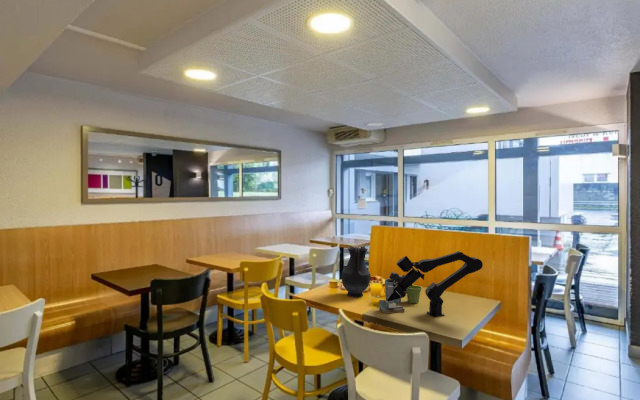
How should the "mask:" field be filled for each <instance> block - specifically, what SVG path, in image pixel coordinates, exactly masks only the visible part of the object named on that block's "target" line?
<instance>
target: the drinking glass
mask: <svg viewBox="0 0 640 400" xmlns="http://www.w3.org/2000/svg"><path fill="white" fill-rule="evenodd" d="M393 282H394V280H393V279H390V278H386V279H384V289H385V301H387V299H388V296H387V295H388V286H393ZM393 302H394V303H396V304H400V303H402V298H399V299H395V300H393Z"/></svg>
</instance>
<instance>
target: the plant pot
mask: <svg viewBox="0 0 640 400" xmlns="http://www.w3.org/2000/svg"><path fill="white" fill-rule="evenodd" d="M422 288H423V287H422V286H420V285H412V286H410V287H409V288H408V289H407V291H406V296H407V297H406V298H407V302H408V303H410V304H418V303H420V296H421V292H422Z"/></svg>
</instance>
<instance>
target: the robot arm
mask: <svg viewBox="0 0 640 400" xmlns="http://www.w3.org/2000/svg"><path fill="white" fill-rule="evenodd" d="M459 261H461V262H463V265H462V266H461V267H460V268H459V269H457V270H456V271H454V272H453V273H451V274H450V275H448V276H447V277H445V278H444V279H443V280H441V281H440V282H438V283H435V282H434V281H433V282H432V283H431V284H430V285H427V286H426V289H425V291H424V292H425V295H426V297H427V298H428V299H429V305H428V306H429V308H428V309H429V311H426V314H428V315H430V316H432V317H442V316H445V314H444V313H443V303H444V300H443V298H442V297H441V296H442V295H443V294H444V292H445V291H446V290H448V289H449V288H450V287H452V286H454V284H456V283H458V282H459V281H460V280H462V279H463V278H465V277H466V276H467V275H470V274H473V273H476V272H478V271H480V270H481V269H483V267H484V264H483V262H482V260H481V259H479V258H477V257H475V256H471V257H470V256H469V255H467V254H465V253H464V252H462V251H459V250H457V251H456V252H453V253H449V254H445V255H443V256H438V257H436V258H426V259H420V260H418V261H415V262H414V261H413V262H412V260H410V259H409V257H408V256H407V255H405V256H403V257H402V258H400V259H399V260H398V261H397V262H396V266H397V267H398V268H399V269H400V270H402V272H404V273H405V274H403V275H400V274H399V273H396V272H395V271H391V272H390V274H389V278H388V279H393V280H394V282H393V287H394V288H393V293H392V294H391V295H390V297H389V298H388V299H387V301H392V300H395V299H399V298H401V299H403V298H405V297H406V296H407V289H408V288H409V287H410V286H412V285H413V284H415V282H417V280H419V279H420V278H421V279H422V281H424V280H425V273H429V272H431V271H433V270H434V269H436V268H438V267H440V266H444V265H448V264H450V263H451V264H452V263H454V262H459ZM387 296H388V295H387Z"/></svg>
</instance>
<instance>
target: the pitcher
mask: <svg viewBox="0 0 640 400" xmlns="http://www.w3.org/2000/svg"><path fill="white" fill-rule="evenodd" d="M347 250H348V253H349V259H348V261H347V264H346V266H345V268H344V269H343V270H342V271H341V282H342V286H343V287H344V289H345V290H346V291H347V294H346V295H347V296H348V297H351V298H361V297H364V294H363V292H364V291H366V290H367V289H368V288H369V285H370V283H371V272H370V271H369V270H368V267H367V266H366V260H365V258H366V254H367V252H368V248H366V247H360V246H358V247H357V246H350V247H348V248H347Z"/></svg>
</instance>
